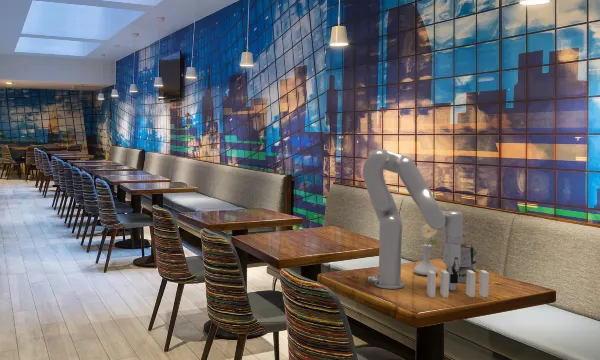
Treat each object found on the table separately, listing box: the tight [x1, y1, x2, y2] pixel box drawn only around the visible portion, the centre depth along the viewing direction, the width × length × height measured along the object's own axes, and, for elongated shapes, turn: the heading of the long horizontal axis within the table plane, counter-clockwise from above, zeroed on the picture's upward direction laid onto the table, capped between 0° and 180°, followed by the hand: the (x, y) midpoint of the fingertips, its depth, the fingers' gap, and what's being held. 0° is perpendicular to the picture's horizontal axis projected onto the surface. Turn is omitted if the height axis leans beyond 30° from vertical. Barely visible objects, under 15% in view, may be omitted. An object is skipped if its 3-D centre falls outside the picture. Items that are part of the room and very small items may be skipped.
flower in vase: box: [413, 223, 439, 276], centre depth 279 cm, size 13×11×25 cm
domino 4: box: [465, 270, 477, 298], centre depth 244 cm, size 2×5×10 cm, turn 3°
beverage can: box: [472, 247, 477, 273], centre depth 283 cm, size 8×8×12 cm
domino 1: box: [426, 270, 437, 298], centre depth 243 cm, size 2×5×10 cm, turn 3°
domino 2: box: [439, 269, 450, 298], centre depth 244 cm, size 2×5×10 cm, turn 3°
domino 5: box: [478, 269, 490, 298], centre depth 245 cm, size 2×5×10 cm, turn 3°
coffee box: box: [457, 243, 474, 284], centre depth 268 cm, size 9×6×16 cm
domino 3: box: [448, 265, 457, 291], centre depth 255 cm, size 2×5×10 cm, turn 3°
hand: (451, 281), depth 255 cm, fingers closed on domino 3, 4 cm apart
